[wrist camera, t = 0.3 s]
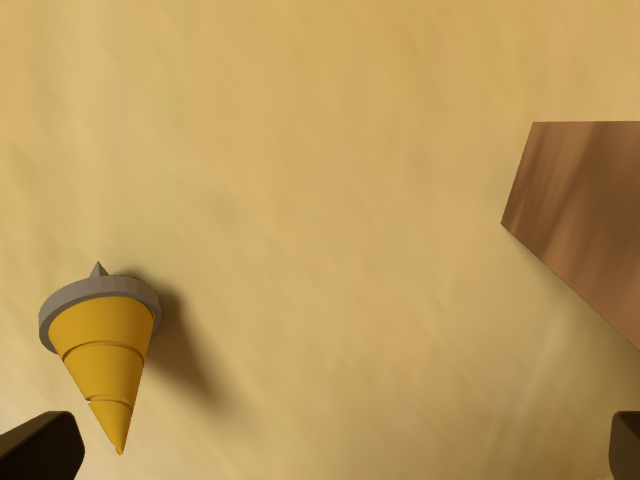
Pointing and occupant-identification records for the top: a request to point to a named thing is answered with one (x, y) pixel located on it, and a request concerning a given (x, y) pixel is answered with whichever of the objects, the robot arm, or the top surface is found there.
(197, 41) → the top surface
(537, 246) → the tall block
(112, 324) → the grey yellow round piece
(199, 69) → the top surface
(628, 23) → the top surface
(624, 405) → the top surface
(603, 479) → the short block
